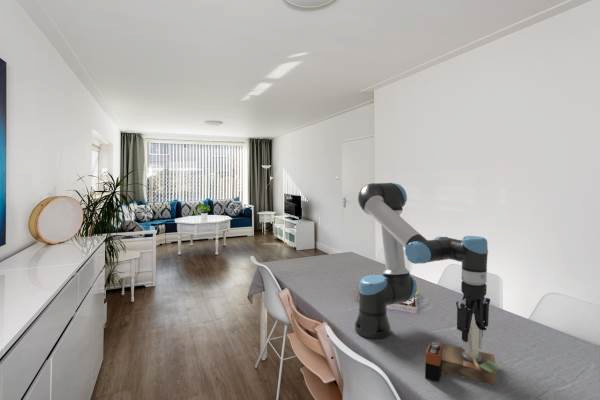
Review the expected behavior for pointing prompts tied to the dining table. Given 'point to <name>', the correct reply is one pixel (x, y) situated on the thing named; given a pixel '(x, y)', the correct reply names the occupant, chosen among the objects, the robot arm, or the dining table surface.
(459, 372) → the board
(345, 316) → the dining table surface
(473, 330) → the peg knob
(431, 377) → the battery
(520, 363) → the dining table surface
